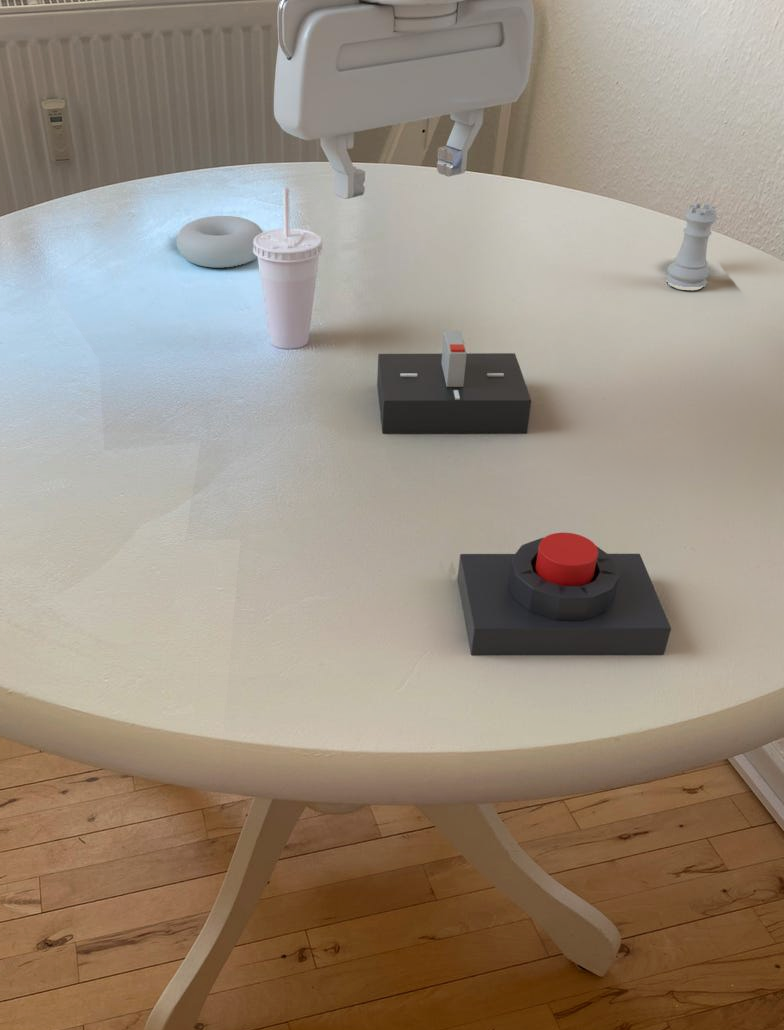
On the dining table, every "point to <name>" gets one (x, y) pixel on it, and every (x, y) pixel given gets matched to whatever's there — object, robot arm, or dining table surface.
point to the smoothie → (288, 279)
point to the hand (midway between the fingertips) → (401, 184)
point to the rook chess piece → (693, 249)
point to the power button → (566, 559)
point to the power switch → (560, 607)
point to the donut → (218, 241)
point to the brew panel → (452, 395)
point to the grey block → (453, 358)
